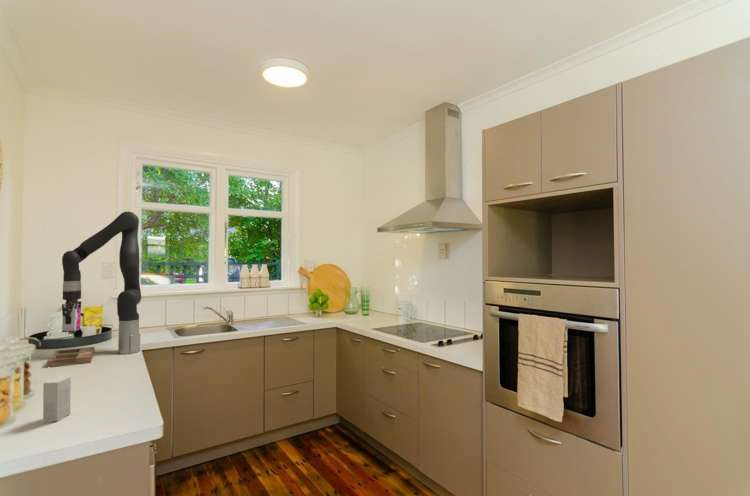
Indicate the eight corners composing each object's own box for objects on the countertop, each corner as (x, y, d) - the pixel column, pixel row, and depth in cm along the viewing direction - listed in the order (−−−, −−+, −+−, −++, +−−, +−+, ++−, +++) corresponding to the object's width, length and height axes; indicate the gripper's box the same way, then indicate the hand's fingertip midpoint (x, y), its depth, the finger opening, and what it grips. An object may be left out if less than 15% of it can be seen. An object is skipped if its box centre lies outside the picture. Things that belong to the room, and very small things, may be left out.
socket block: (55, 356, 200) (56, 349, 200) (94, 352, 209) (94, 346, 209) (47, 367, 179) (47, 360, 179) (90, 362, 188) (90, 355, 188)
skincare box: (56, 414, 124) (57, 376, 125) (70, 414, 125) (71, 376, 125) (41, 422, 118) (42, 382, 119) (56, 422, 119) (57, 382, 119)
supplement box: (75, 331, 197) (75, 308, 197) (61, 332, 195) (61, 309, 195) (80, 329, 202) (81, 307, 203) (67, 330, 201) (67, 308, 201)
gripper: (71, 289, 205) (70, 321, 205) (55, 291, 191) (55, 325, 191) (87, 288, 207) (86, 320, 207) (73, 290, 193) (72, 325, 193)
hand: (71, 322), depth 199 cm, fingers closed on supplement box, 5 cm apart
